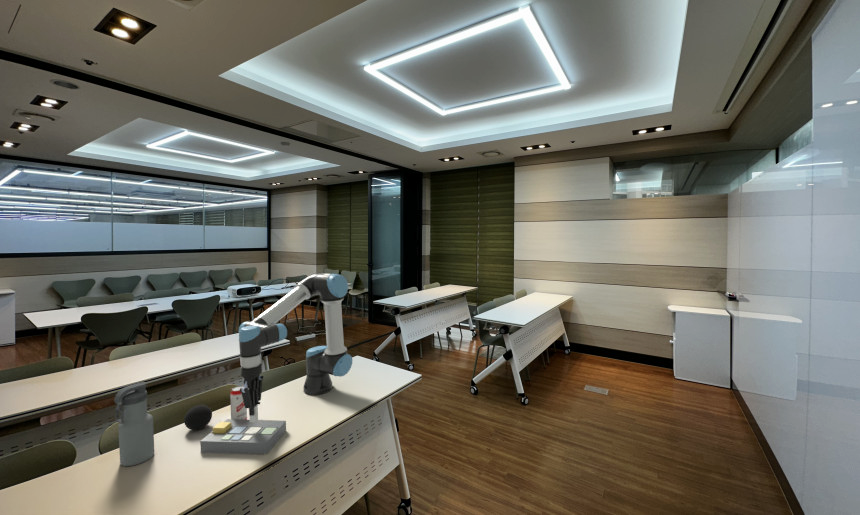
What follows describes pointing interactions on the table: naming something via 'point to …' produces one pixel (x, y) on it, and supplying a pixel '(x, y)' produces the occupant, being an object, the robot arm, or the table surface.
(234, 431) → the key slate
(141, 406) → the water bottle
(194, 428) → the speaker
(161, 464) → the table surface
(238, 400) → the beer can
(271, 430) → the key sage
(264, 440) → the keypad
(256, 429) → the key ivory
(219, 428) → the key mustard
